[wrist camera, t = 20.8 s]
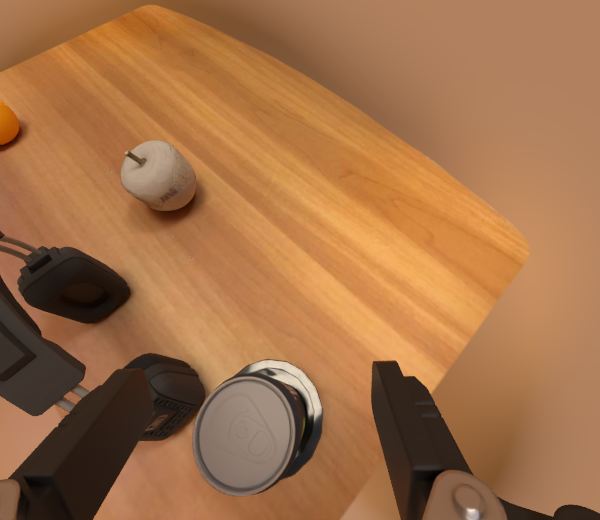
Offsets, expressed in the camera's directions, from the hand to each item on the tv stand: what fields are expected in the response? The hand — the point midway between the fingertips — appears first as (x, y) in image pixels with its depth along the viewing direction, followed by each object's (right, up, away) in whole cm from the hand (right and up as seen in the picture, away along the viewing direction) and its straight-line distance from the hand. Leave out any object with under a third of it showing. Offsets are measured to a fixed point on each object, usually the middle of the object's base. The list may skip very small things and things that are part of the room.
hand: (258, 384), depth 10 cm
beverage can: (-1, -12, +20) cm, 23 cm away
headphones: (-18, -6, +24) cm, 30 cm away
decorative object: (-17, +13, +33) cm, 39 cm away
